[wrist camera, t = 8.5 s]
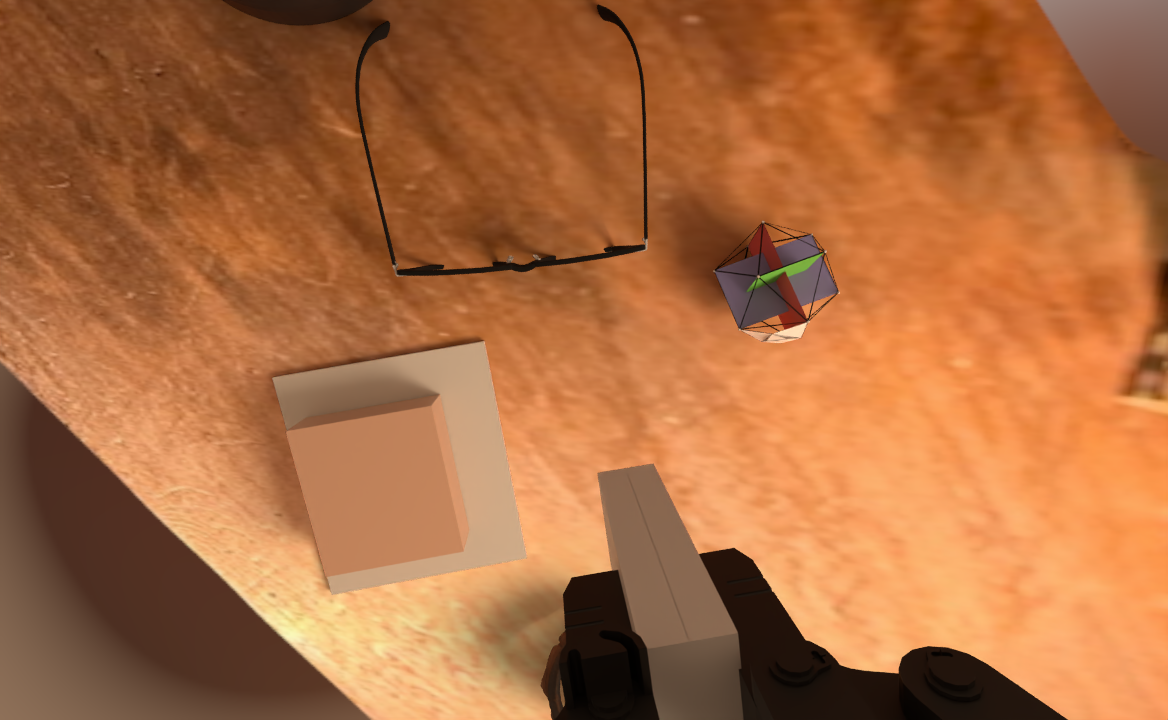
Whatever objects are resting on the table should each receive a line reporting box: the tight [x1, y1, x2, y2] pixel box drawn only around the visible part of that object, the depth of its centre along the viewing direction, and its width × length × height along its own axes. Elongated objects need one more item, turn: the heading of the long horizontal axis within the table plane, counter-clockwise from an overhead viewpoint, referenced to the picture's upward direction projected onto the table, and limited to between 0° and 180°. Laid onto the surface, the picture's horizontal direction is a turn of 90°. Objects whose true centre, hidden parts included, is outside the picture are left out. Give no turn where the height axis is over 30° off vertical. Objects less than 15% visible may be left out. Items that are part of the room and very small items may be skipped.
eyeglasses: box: [355, 5, 648, 276], centre depth 34 cm, size 16×16×4 cm
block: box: [286, 394, 470, 577], centre depth 37 cm, size 10×3×9 cm
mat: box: [272, 341, 527, 595], centre depth 39 cm, size 16×14×1 cm
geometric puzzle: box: [713, 221, 840, 343], centre depth 35 cm, size 7×7×8 cm
